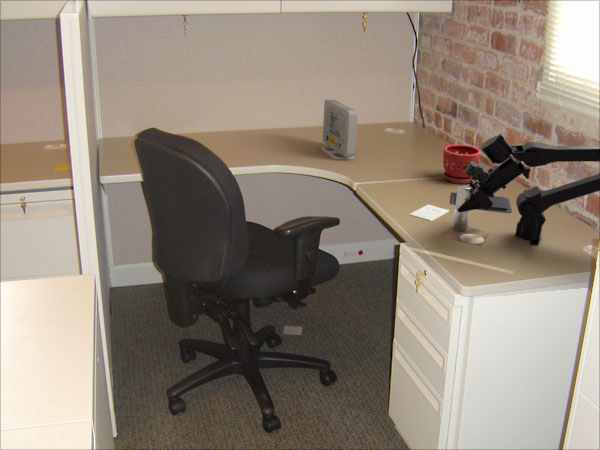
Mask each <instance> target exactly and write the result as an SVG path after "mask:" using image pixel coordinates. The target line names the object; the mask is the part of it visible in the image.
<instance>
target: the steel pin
mask: <svg viewBox="0 0 600 450" xmlns="http://www.w3.org/2000/svg"><path fill="white" fill-rule="evenodd" d="M471 190H472V191H473V188H472V187H470V186H469V185H463V184H462V185H458V186H457V191H456V193H457V197H456V205H454V213H453V220H452V226H453V227H452V226H451V228H452V229H453V230H454V231H457V232H466V231H467V229H468V227H469V223H470V214H471V210H470V211H465V212H458V211H457V209H458V208H459V207H460V206H461V205H462V204H463V203H464V202H465V201H466V200H467V199H468V198H469V197H470V193H471Z"/></svg>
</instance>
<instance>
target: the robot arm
mask: <svg viewBox="0 0 600 450" xmlns="http://www.w3.org/2000/svg"><path fill="white" fill-rule="evenodd" d="M479 150H480V151H482V153H483V154H484V155H485V156H486V158H488V160H489V161H490V162H491V163H492V164H494V165H495V164H496V165H497V166H496V167H495V168H493V167H490V168H489V169H487V168H485V167H483V166H482V165H480V164H479V165H478V164H477V163H475V162H473V161H471V162H470V163H469V165H468V166H467V168H466V169H465V173H466V174H467V175H468V176H471V178H472V180H473V179H474V180H473V181H472V180H471V179H470V183H469V184H468V186H470V187H472V188H473V191H472V190H471V193H470V197H469V198H468V199H467V200H466V201H465V202H464V203H463V204H462V205H461V206H460V207H459V208H458V209H457V211H458V212H465V211H470V212H471V211H473V210H474V211H475V210H477V209H482V208H483V209H485V210H486V211H487V210H489V209H490V208H491V207H492V205H493V200H492V197H494V196H495V194H496V193H497V192H498V191H500V190H501V189H502V190H505V189H506V188H507V185H510V183H511V182H513V181H515V179H517V178H518V177H520V176H521V175H522V176H523V177H524V178H525V179H527V180H529V178H530V174H531V173H530V172H531V168H537V167H543V166H546V165H550V164H552V163H553V164H554V163H560V162H561V163H563V162H565V163H566V162H567V163H568V162H577V163H578V162H581V163H582V162H600V144H598V145H551V144H547V143H545V142H544V143H543V142H535V141H528V142H525V143H524V144H521V145H518V144H517V145H510V144H509V142H508V141H507V140H506V139H505V138H504V136H503V134H501V133H499V134H498V135H495V136H493V137H491V138H488V139H487V140H486V141H484V143H482V145H481V146H480V149H479ZM522 162H523V163H522ZM525 165H526V166H525ZM597 192H600V172H599V173H597V174H594V175H591V176H588V177H585V178H582V179H578V180H576V181H573V182H570V183H566V184H564V185H560V186H558V187H556V186H555V187H554V188H551V189H547V190H540V188H539V186H538V185H537V186H534V187H532V188H530V189H523V192H521V193H520V194H518V195H517V197H516V200H515V204H516V208H517V212H518V213H519V215H520V216H521V217H520V218H519V220H518V222H517V223H516V228H515V236H516V237H517V238H520V239H522V240H525V241H529V244H531V245H535V246H536V245H537V246H538V245H540V242H541V240H542V239H543V236H542V234H543V229H544V224H545V222H546V220H547V219H546V217H545V214H544V212H546V211H547V210H548V209H550V208H551V207H552V206H556V205H558V204H562V203H565V202H568V201H571V200H574V199H578V198H580V197H585V196H587V195H590V194H594V193H597ZM485 210H484V211H485ZM487 212H488V211H487Z"/></svg>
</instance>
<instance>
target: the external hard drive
mask: <svg viewBox="0 0 600 450" xmlns="http://www.w3.org/2000/svg"><path fill="white" fill-rule="evenodd" d="M449 212H450V210H449V209H446V208H444V207H443V208H442V207H438V206H435V205H432V204H426V205H424V206H422V207H420V208H418V209H416V210H414V211H413V212H410V213H408V215H409V216H412V217H415V218H419V219H423V220H425V221H429V222H433V221H434V220H436V219H438V218H440V217H442V216H443V215H445V214H448V213H449Z"/></svg>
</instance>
